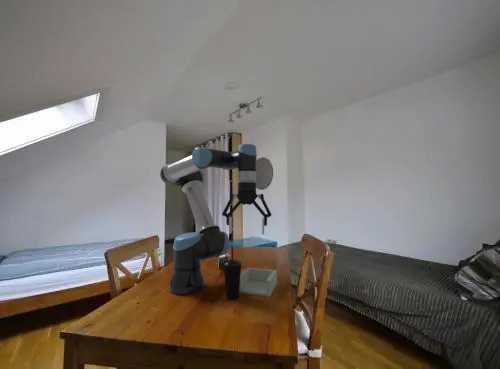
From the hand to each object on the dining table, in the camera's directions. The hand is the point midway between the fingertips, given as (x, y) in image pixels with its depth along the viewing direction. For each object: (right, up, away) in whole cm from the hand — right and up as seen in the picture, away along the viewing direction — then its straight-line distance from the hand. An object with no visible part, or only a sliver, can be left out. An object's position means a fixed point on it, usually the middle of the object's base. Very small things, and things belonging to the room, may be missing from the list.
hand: (246, 233), depth 95 cm
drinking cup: (-5, -25, -4) cm, 26 cm away
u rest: (+5, -25, +6) cm, 26 cm away
